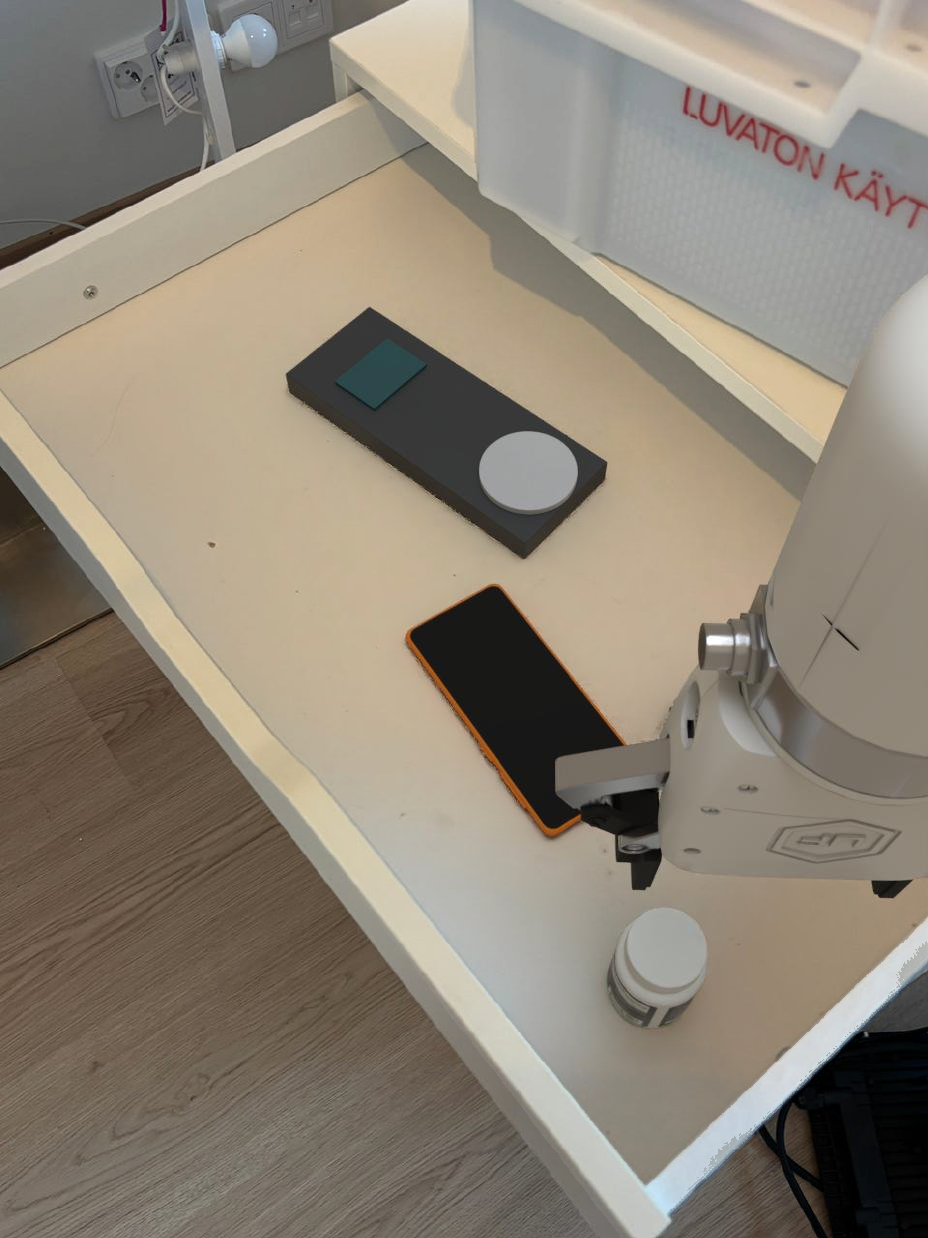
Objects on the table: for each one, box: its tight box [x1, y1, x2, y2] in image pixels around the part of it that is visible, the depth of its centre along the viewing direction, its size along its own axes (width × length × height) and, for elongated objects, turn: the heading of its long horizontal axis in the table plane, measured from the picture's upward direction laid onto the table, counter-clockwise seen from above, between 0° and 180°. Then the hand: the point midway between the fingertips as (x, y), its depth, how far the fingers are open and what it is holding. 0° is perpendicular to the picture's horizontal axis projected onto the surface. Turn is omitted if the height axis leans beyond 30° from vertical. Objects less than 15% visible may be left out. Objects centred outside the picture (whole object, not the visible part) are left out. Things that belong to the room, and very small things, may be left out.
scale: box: [285, 306, 609, 559], centre depth 82 cm, size 23×9×3 cm, turn 49°
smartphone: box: [405, 583, 628, 837], centre depth 72 cm, size 8×17×1 cm, turn 33°
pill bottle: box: [606, 906, 708, 1029], centre depth 60 cm, size 5×5×8 cm
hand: (757, 858), depth 46 cm, fingers open, 9 cm apart
